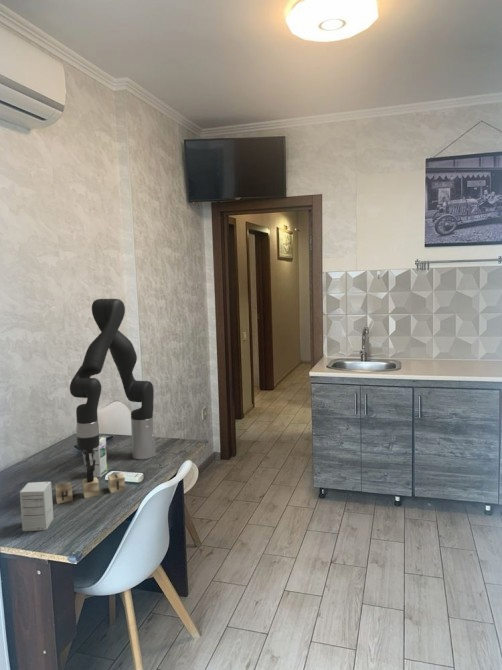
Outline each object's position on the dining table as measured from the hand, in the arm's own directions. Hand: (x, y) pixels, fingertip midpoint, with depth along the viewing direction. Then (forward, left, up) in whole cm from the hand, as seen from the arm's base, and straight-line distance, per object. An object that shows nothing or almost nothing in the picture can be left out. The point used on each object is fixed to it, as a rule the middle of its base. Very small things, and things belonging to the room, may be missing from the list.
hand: (90, 480), depth 173 cm
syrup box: (-5, -18, -5) cm, 19 cm away
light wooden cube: (+9, 0, -5) cm, 10 cm away
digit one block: (-9, 0, -5) cm, 10 cm away
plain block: (0, 0, -5) cm, 5 cm away
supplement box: (+18, +16, -5) cm, 25 cm away
